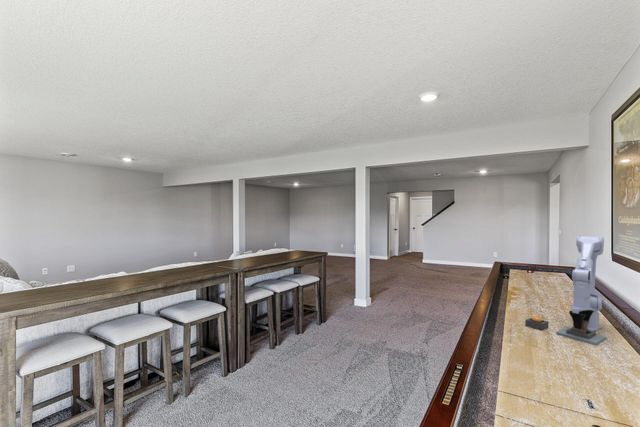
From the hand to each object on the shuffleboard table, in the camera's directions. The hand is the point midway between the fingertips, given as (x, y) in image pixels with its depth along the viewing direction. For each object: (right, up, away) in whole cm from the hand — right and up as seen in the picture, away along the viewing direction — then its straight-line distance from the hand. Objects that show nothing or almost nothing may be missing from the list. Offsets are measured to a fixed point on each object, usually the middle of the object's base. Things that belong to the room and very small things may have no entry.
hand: (581, 327), depth 140 cm
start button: (-12, -1, +11) cm, 16 cm away
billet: (0, -3, 0) cm, 3 cm away
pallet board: (0, -4, 0) cm, 4 cm away
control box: (-12, -4, +11) cm, 17 cm away
